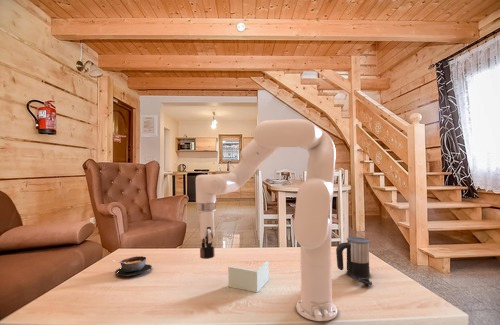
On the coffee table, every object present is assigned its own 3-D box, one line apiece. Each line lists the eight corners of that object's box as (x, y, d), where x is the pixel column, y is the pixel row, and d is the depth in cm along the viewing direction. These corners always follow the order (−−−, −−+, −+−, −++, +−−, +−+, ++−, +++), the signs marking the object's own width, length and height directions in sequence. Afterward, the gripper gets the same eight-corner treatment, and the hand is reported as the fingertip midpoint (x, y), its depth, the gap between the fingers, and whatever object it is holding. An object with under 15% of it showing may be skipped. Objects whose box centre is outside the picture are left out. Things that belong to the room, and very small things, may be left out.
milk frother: (358, 269, 118) (358, 235, 118) (389, 283, 103) (388, 245, 103) (333, 274, 112) (332, 239, 112) (361, 290, 98) (361, 249, 98)
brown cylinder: (213, 258, 98) (213, 250, 98) (198, 258, 98) (198, 250, 98) (215, 254, 103) (215, 246, 103) (201, 254, 103) (201, 246, 103)
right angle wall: (268, 279, 108) (268, 261, 108) (257, 292, 97) (257, 271, 97) (242, 275, 113) (242, 257, 113) (228, 286, 102) (228, 267, 102)
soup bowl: (152, 275, 113) (152, 258, 113) (110, 282, 107) (110, 263, 107) (151, 264, 127) (151, 248, 127) (114, 269, 121) (114, 252, 121)
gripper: (193, 205, 108) (194, 249, 107) (199, 210, 91) (200, 263, 91) (211, 203, 110) (213, 247, 110) (220, 209, 94) (221, 260, 93)
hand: (207, 254), depth 100 cm, fingers closed on brown cylinder, 5 cm apart
